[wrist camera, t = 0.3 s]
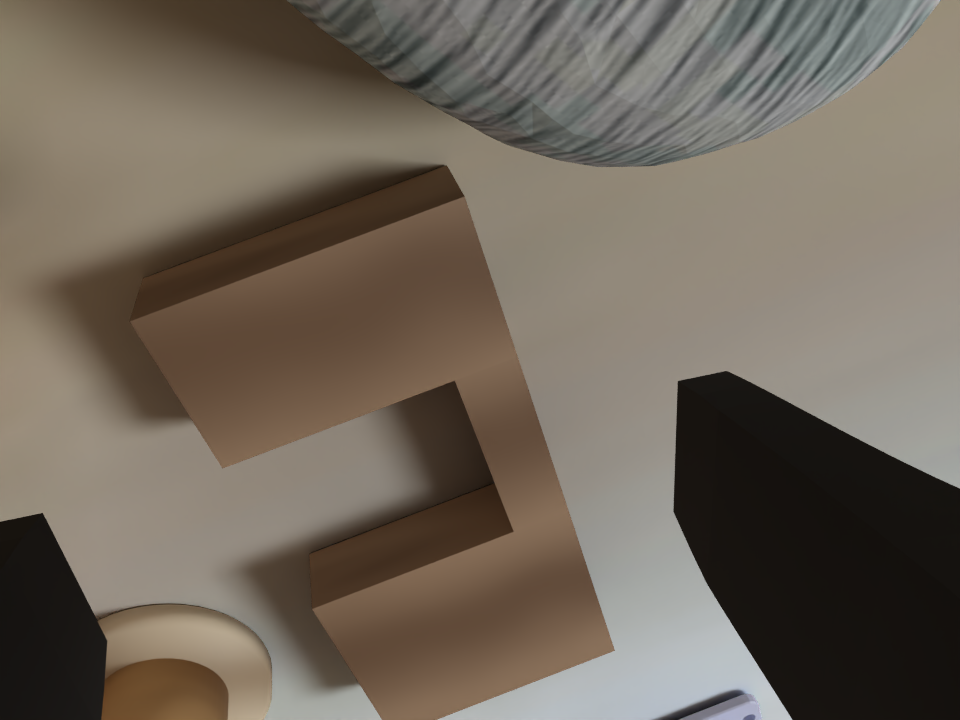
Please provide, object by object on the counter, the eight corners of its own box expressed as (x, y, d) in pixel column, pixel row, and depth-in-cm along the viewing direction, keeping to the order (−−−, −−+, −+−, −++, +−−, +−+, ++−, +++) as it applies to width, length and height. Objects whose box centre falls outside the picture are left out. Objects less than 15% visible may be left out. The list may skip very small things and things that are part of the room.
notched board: (592, 599, 26) (614, 650, 25) (384, 680, 26) (392, 736, 24) (446, 165, 18) (464, 196, 16) (143, 278, 18) (129, 321, 16)
